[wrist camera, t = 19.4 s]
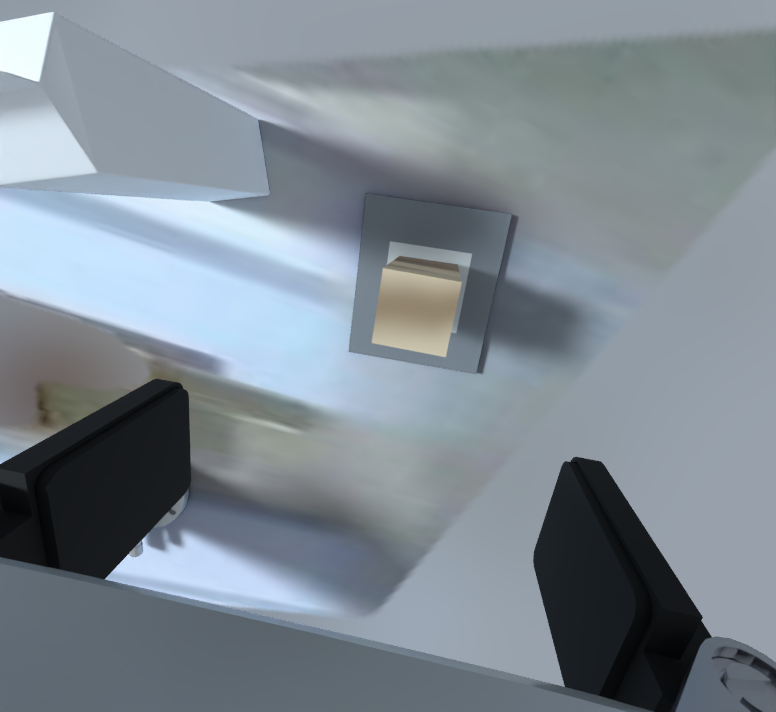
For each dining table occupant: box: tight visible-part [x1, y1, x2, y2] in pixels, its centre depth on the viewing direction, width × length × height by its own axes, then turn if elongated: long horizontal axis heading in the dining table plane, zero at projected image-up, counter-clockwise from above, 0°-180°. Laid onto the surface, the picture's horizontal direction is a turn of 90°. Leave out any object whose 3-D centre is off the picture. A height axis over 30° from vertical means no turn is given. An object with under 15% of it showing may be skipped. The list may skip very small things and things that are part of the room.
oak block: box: [372, 261, 462, 357], centre depth 29 cm, size 5×5×5 cm
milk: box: [0, 12, 270, 202], centre depth 25 cm, size 6×6×22 cm
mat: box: [349, 193, 512, 374], centre depth 36 cm, size 14×12×1 cm
